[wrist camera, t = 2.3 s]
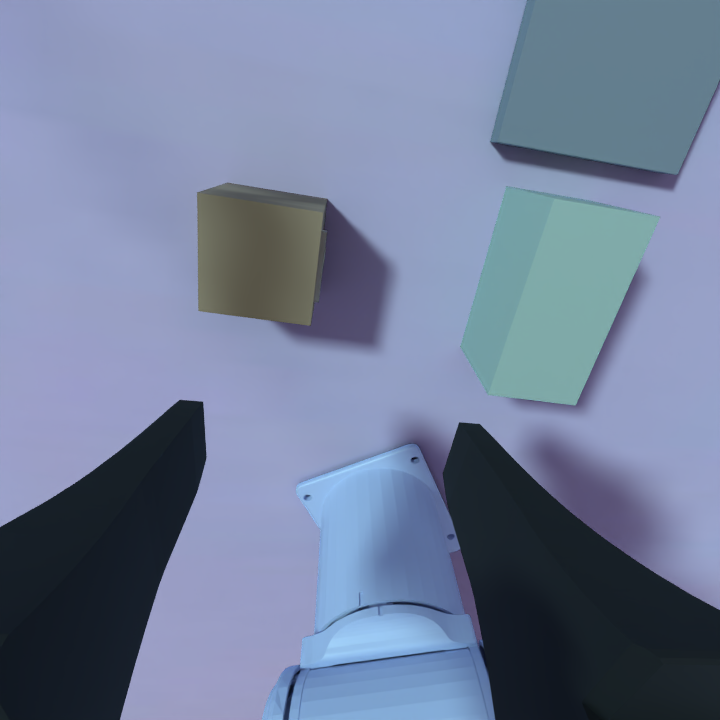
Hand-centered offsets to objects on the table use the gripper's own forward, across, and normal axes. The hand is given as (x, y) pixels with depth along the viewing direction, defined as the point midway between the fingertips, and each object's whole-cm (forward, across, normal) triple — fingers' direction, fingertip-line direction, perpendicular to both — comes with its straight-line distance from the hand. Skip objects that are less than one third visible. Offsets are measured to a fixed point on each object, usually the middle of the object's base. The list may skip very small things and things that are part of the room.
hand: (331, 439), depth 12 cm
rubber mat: (+11, -10, -13) cm, 20 cm away
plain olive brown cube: (+11, +3, -2) cm, 12 cm away
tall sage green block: (+11, -9, -2) cm, 14 cm away
